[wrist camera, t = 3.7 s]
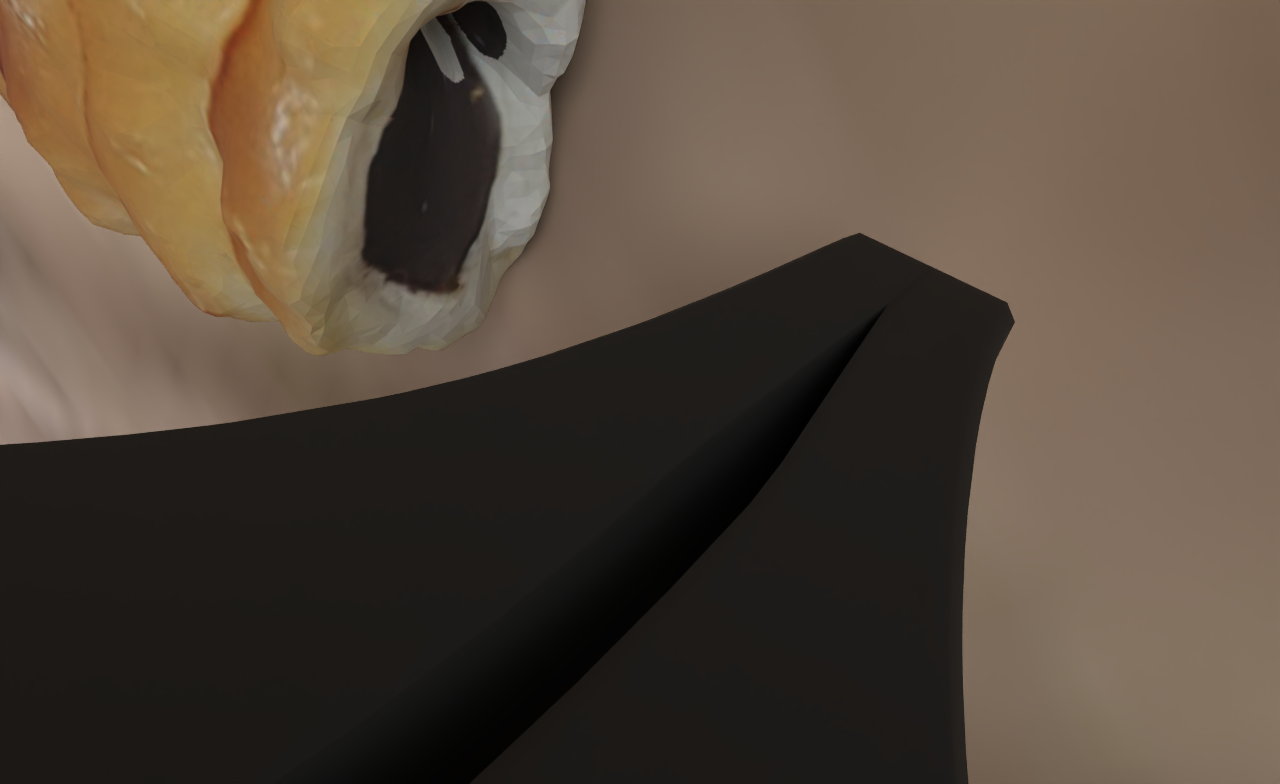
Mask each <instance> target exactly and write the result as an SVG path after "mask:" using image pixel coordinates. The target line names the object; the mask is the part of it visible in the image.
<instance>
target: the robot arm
mask: <svg viewBox="0 0 1280 784" xmlns="http://www.w3.org/2000/svg"><path fill="white" fill-rule="evenodd" d="M1014 323H1015V321H1014V319H1013V316H1012V314H1011V311H1010V309H1009V306H1008V303H1007V302H1005V301H1002V300H1000V299H998V298H996V297H994V296H992V295H990V294H988V293H986V292H983V291H981V290H979V289H977V288H975V287H973V286H971V285H969V284H967V283H964V282H962V281H960V280H958V279H956V278H954V277H952V276H950V275H948V274H945V273H943V272H941V271H939V270H937V269H935V268H933V267H931V266H929V265H926V264H924V263H922V262H920V261H918V260H916V259H914V258H912V257H910V256H907V255H905V254H903V253H901V252H899V251H897V250H895V249H893V248H891V247H888V246H886V245H884V244H882V243H880V242H878V241H876V240H874V239H872V238H869V237H867V236H865V235H863V234H861V233H858V234H855V235H852V236H849V237H846V238H843V239H841V240H838V241H836V242H834V243H831V244H829V245H827V246H824V247H822V248H820V249H818V250H815V251H813V252H811V253H809V254H806V255H804V256H802V257H800V258H798V259H795V260H793V261H791V262H789V263H786V264H784V265H782V266H780V267H777V268H775V269H773V270H770V271H768V272H766V273H764V274H761V275H759V276H757V277H754V278H752V279H750V280H747V281H745V282H743V283H740V284H738V285H736V286H733V287H731V288H728V289H726V290H724V291H721V292H719V293H716V294H714V295H711V296H709V297H706V298H703V299H701V300H698V301H696V302H693V303H691V304H688V305H686V306H683V307H681V308H678V309H676V310H673V311H671V312H668V313H666V314H663V315H661V316H658V317H656V318H653V319H650V320H648V321H645V322H642V323H640V324H637V325H634V326H631V327H628V328H625V329H622V330H619V331H616V332H613V333H610V334H608V335H605V336H602V337H599V338H596V339H593V340H590V341H587V342H584V343H581V344H578V345H575V346H572V347H569V348H566V349H563V350H560V351H557V352H554V353H551V354H548V355H545V356H542V357H538V358H535V359H532V360H529V361H525V362H522V363H518V364H515V365H511V366H508V367H504V368H501V369H497V370H494V371H490V372H486V373H483V374H479V375H475V376H471V377H468V378H464V379H460V380H455V381H451V382H447V383H443V384H439V385H434V386H430V387H426V388H422V389H417V390H413V391H409V392H404V393H400V394H395V395H390V396H385V397H380V398H375V399H369V400H364V401H358V402H352V403H346V404H340V405H334V406H328V407H322V408H316V409H310V410H304V411H298V412H292V413H286V414H280V415H274V416H268V417H262V418H256V419H250V420H244V421H238V422H232V423H224V424H216V425H209V426H200V427H192V428H183V429H174V430H165V431H156V432H148V433H139V434H130V435H118V436H107V437H95V438H84V439H72V440H61V441H49V442H37V443H22V444H7V445H0V784H968V773H967V761H966V745H965V723H964V700H963V667H962V610H963V584H964V558H965V541H966V528H967V515H968V505H969V497H970V489H971V481H972V472H973V464H974V456H975V448H976V442H977V436H978V430H979V424H980V419H981V414H982V410H983V405H984V401H985V397H986V393H987V388H988V384H989V380H990V377H991V374H992V370H993V367H994V363H995V361H996V358H997V356H998V354H999V352H1000V350H1001V348H1002V346H1003V344H1004V342H1005V340H1006V338H1007V336H1008V334H1009V332H1010V330H1011V328H1012V326H1013V325H1014Z"/></svg>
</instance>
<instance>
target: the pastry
mask: <svg viewBox="0 0 1280 784" xmlns="http://www.w3.org/2000/svg"><path fill="white" fill-rule="evenodd" d="M585 3H586V0H0V94H1V95H2V97H3V98H4V99H5V101H6V102H7V103H8V105H9V106H10V107H11V108H12V110H13V111H14V113H15V115H16V117H17V120H18V122H19V123H20V124H21V126H22V129H23V131H24V134H25V136H26V139H27V141H28V142H29V144H30V145H31V146H32V147H33V148H34V149H35V150H36V151H37V152H38V153H39V154H40V155H41V156H42V157H43V158H44V159H45V160H46V161H47V162H48V164H49V165H50V166H51V167H52V169H53V171H54V173H55V175H56V178H57V179H58V181H59V183H60V184H61V186H62V187H63V189H64V191H65V192H66V194H67V196H68V197H69V198H70V200H71V201H72V202H73V203H74V205H75V206H76V207H77V209H78V210H79V211H80V212H81V213H82V214H83V215H84V216H85V217H86V218H87V219H88V220H89V221H90V222H91V223H92V224H94V225H97V226H100V227H103V228H107V229H110V230H113V231H116V232H119V233H122V234H126V235H136V236H141V237H142V238H143V239H144V241H145V242H146V243H147V245H148V246H149V247H150V248H151V250H152V251H153V252H154V254H155V255H156V256H157V257H158V259H159V260H160V261H161V262H162V264H163V265H164V266H165V268H166V269H167V271H168V272H169V274H170V275H171V277H172V278H173V280H174V281H175V282H176V283H177V285H178V286H179V287H180V288H181V290H182V291H183V292H184V293H185V295H186V296H187V297H188V299H189V300H190V301H191V302H192V303H193V304H194V305H195V306H197V307H198V308H199V309H200V310H202V311H203V312H205V313H207V314H210V315H213V316H215V317H232V318H235V319H240V320H245V321H250V322H260V321H280V322H281V324H282V326H283V327H284V329H285V330H286V332H287V334H288V335H289V337H290V339H292V340H293V341H294V342H295V343H297V344H298V345H299V346H300V347H301V348H303V349H304V350H305V351H306V352H308V353H310V354H314V355H317V356H322V355H328V354H332V353H336V352H338V351H341V350H344V349H350V350H358V351H363V352H368V353H375V354H391V355H402V354H407V353H409V352H410V351H412V350H414V349H415V348H417V347H418V348H421V349H426V350H443V349H445V348H446V347H447V346H449V345H450V344H452V343H453V342H455V341H456V340H458V339H459V338H461V337H463V336H464V335H466V334H468V333H470V332H471V331H473V330H475V329H476V328H478V327H479V325H480V324H481V323H482V322H483V320H484V319H485V318H486V316H487V313H488V311H489V308H490V306H491V303H492V300H493V298H494V295H495V292H496V289H497V287H498V284H499V281H500V279H501V278H502V276H503V275H504V273H505V272H506V270H507V268H508V267H510V266H511V265H512V264H513V262H514V261H515V260H516V259H517V258H518V257H519V256H520V255H521V253H522V251H523V250H524V248H525V246H526V244H527V243H528V241H529V240H530V239H531V238H532V237H533V235H534V233H535V230H536V227H537V224H538V222H539V219H540V216H541V214H542V211H543V208H544V206H545V203H546V200H547V197H548V193H549V190H550V179H549V163H550V155H551V148H552V142H553V134H552V110H551V95H550V90H551V88H552V86H553V85H554V83H555V81H556V79H557V78H558V77H559V76H561V75H562V74H564V72H565V70H566V68H567V66H568V64H569V62H570V60H571V59H572V57H573V53H574V50H575V46H576V43H577V40H578V36H579V32H580V28H581V24H582V20H583V15H584V9H585Z"/></svg>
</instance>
